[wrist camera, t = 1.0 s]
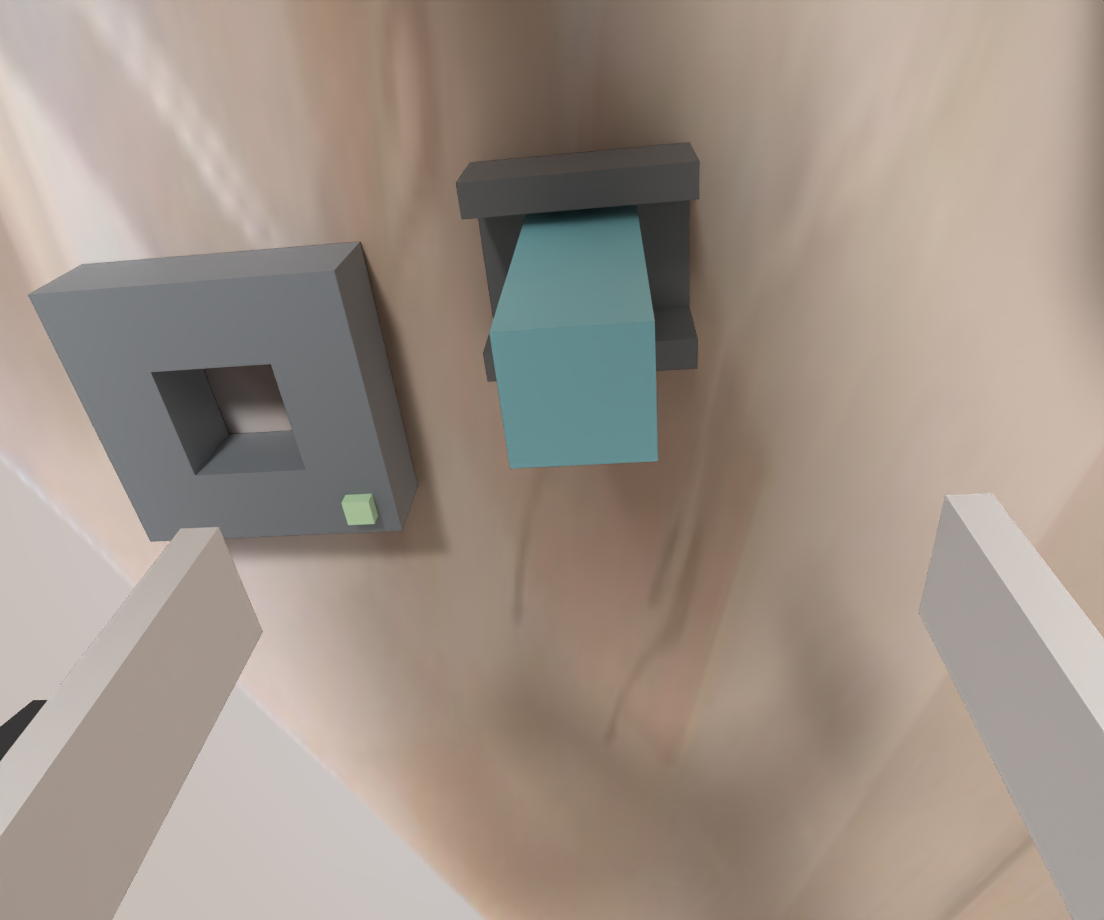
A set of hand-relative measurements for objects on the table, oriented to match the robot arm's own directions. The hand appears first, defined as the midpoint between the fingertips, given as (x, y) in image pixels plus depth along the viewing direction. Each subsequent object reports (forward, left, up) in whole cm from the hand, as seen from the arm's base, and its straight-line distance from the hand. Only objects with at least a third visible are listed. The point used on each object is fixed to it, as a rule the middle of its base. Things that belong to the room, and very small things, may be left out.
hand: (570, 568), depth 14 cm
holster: (0, 0, -19) cm, 19 cm away
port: (+5, -15, -19) cm, 25 cm away
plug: (0, 0, -18) cm, 18 cm away
